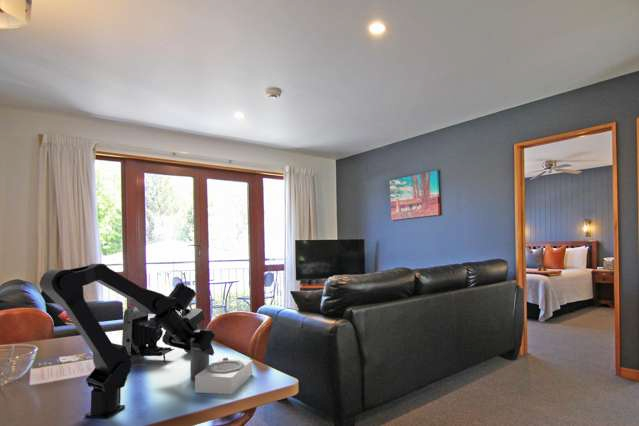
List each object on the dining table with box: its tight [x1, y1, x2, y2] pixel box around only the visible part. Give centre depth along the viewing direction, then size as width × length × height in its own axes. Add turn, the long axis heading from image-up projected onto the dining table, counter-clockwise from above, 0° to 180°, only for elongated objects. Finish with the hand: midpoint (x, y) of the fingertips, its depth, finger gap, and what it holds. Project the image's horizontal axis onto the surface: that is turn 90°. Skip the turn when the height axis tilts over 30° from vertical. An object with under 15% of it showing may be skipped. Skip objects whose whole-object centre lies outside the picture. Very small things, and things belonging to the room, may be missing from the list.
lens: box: [190, 328, 210, 381], centre depth 119 cm, size 6×6×14 cm
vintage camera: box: [121, 306, 175, 363], centre depth 137 cm, size 10×15×20 cm, turn 78°
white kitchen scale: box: [194, 357, 254, 395], centre depth 113 cm, size 16×11×5 cm
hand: (203, 352), depth 120 cm, fingers open, 9 cm apart
